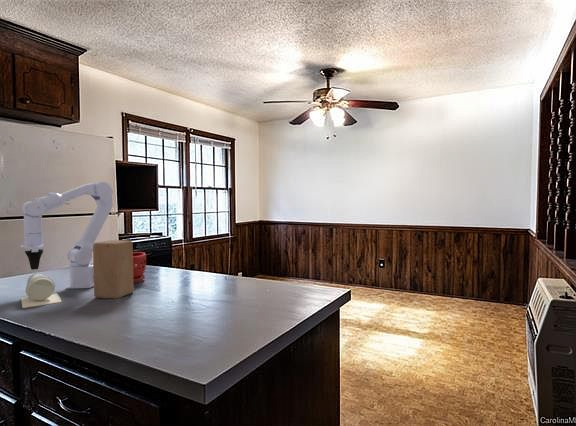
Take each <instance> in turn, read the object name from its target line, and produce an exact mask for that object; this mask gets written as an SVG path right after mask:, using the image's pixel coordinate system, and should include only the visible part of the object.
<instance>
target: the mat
mask: <svg viewBox="0 0 576 426" xmlns="http://www.w3.org/2000/svg"><path fill="white" fill-rule="evenodd" d="M20 299H21V300H20V301H21V307H22V309H27V308H33V307H37V306H38V307H39V306H46V305H51V304H52V305H53V304H60V303H63V302H62V300H61V297H60V296H59V294H58V293H53V294H52V295H51V296H50V297H49V298H47V299H45V300H40V301H37V300H33V299H31V298H29V297H28V296H27V297H22V298H20Z"/></svg>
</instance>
